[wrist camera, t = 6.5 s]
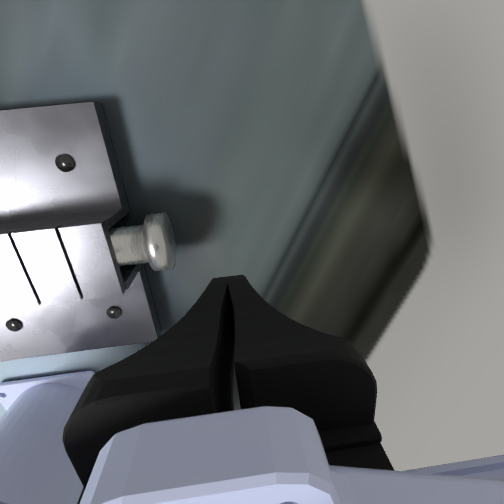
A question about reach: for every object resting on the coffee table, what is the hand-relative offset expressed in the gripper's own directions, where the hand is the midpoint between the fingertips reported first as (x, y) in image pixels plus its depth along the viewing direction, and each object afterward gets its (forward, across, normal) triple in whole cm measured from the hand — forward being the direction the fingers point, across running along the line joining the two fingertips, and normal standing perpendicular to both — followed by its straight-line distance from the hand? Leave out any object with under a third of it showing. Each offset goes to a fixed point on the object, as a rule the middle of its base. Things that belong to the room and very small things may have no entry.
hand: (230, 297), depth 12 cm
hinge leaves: (+10, +12, 0) cm, 16 cm away
